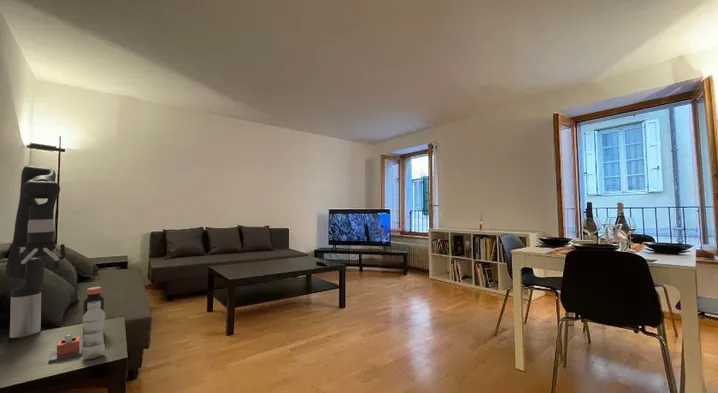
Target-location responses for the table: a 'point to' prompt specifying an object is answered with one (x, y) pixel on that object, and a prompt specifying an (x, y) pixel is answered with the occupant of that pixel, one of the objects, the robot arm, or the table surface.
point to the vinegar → (93, 299)
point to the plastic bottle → (93, 331)
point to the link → (67, 346)
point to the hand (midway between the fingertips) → (40, 271)
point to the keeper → (54, 357)
